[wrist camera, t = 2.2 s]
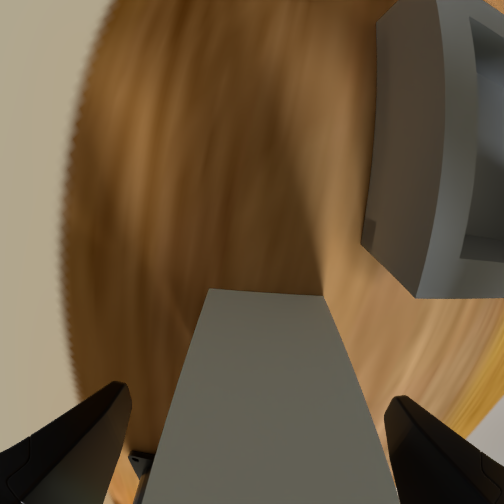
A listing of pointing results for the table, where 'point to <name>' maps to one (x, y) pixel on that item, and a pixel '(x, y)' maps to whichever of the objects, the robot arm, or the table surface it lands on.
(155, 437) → the table surface
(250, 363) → the blue-grey block
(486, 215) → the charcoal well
